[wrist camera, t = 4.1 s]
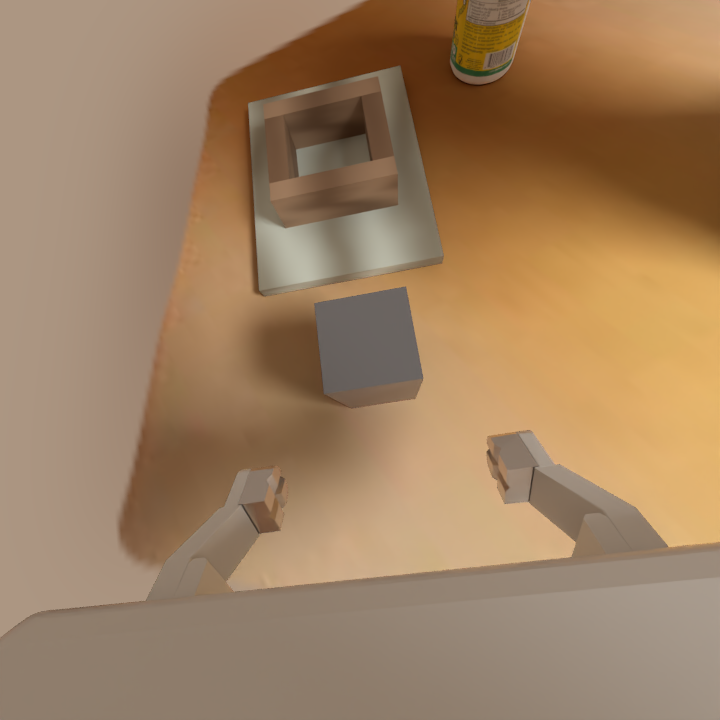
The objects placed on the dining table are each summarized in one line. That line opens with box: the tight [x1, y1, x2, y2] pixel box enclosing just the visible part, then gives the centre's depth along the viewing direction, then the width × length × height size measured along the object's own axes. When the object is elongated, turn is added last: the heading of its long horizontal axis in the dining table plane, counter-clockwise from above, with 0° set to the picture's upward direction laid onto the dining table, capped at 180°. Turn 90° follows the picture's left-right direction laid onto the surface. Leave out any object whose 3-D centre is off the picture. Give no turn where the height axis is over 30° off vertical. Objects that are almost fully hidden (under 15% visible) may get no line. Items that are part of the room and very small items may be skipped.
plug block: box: [314, 287, 423, 408], centre depth 18 cm, size 4×4×8 cm
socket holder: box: [248, 66, 444, 296], centre depth 24 cm, size 14×19×4 cm
